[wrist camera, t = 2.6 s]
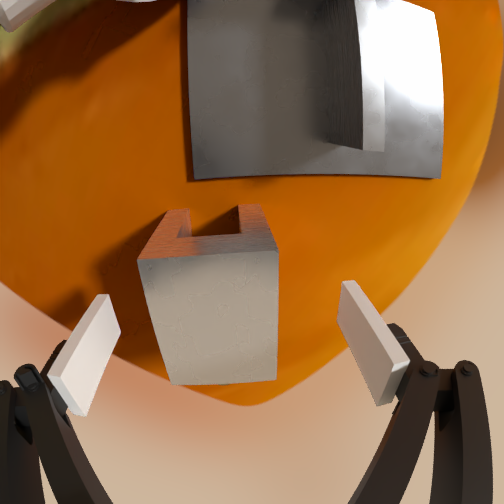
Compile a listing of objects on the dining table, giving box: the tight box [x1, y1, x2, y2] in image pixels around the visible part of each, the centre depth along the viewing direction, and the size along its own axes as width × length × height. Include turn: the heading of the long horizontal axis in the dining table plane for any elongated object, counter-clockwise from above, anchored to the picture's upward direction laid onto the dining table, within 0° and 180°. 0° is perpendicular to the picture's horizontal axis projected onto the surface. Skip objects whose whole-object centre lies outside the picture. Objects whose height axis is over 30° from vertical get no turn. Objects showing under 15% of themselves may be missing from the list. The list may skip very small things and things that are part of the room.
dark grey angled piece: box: [187, 0, 443, 179], centre depth 12 cm, size 18×14×8 cm
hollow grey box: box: [137, 204, 279, 385], centre depth 17 cm, size 6×8×8 cm
